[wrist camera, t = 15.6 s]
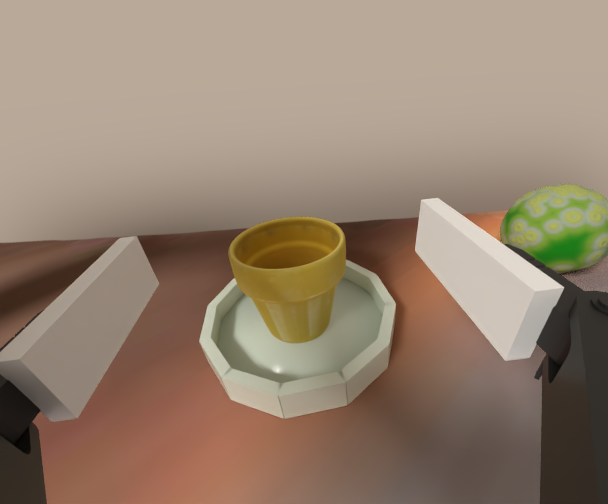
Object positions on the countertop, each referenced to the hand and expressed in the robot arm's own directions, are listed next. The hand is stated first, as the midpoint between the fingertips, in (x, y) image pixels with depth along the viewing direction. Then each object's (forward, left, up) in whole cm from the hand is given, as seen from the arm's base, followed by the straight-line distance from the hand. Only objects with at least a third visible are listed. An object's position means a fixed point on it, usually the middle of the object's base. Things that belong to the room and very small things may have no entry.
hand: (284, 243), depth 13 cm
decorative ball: (+20, +26, -16) cm, 37 cm away
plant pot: (-5, +9, -15) cm, 18 cm away
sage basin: (-5, +9, -16) cm, 19 cm away
